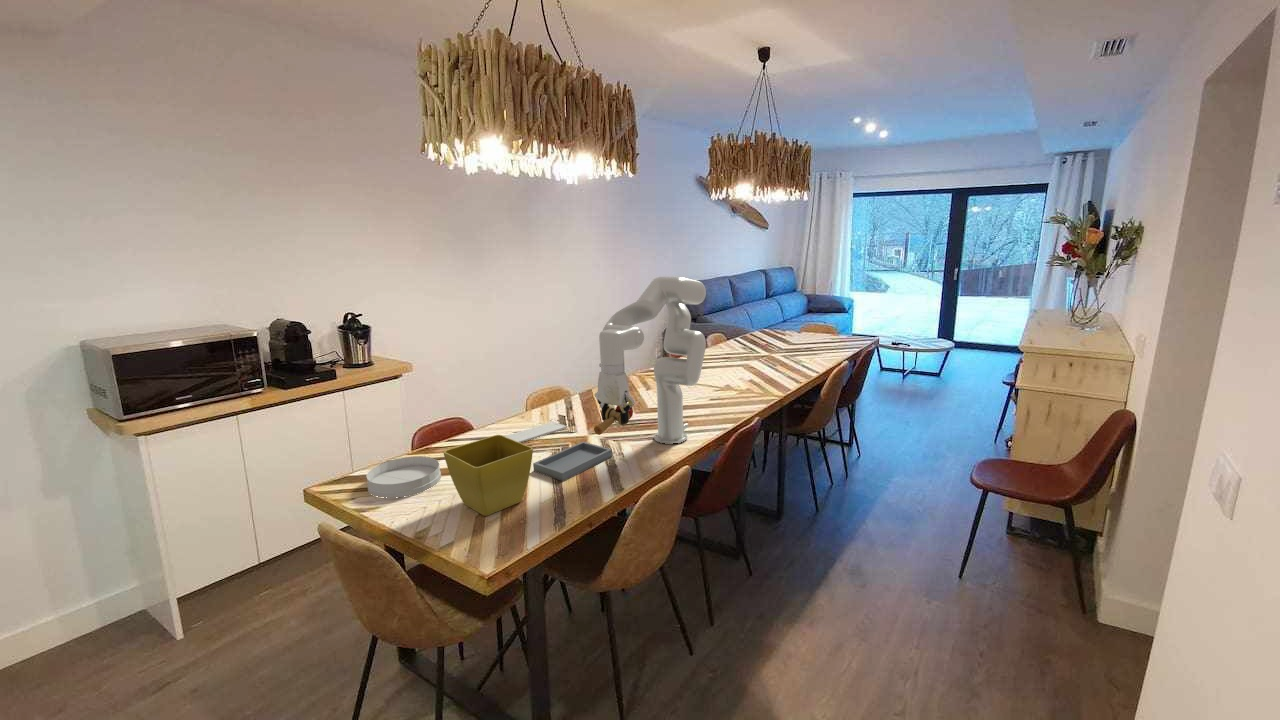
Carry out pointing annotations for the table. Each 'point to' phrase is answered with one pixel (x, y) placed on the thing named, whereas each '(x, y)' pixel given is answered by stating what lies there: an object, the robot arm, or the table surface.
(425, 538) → the table surface
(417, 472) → the dish
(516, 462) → the flower pot
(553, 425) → the baseboard
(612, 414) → the kendama
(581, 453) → the cradle tray
